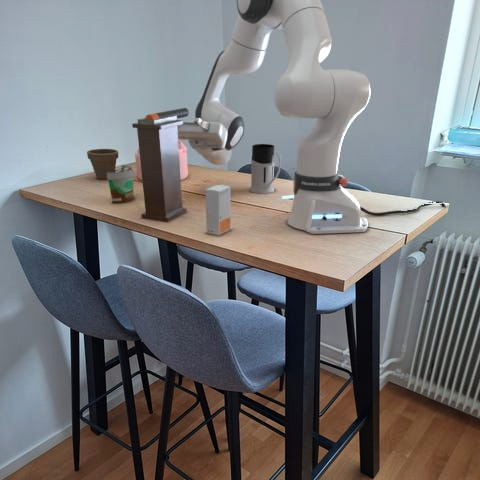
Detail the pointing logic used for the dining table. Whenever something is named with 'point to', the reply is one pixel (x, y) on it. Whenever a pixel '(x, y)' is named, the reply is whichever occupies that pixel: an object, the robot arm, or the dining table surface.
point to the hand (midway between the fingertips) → (182, 119)
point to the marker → (169, 114)
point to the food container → (121, 184)
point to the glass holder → (263, 168)
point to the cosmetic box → (218, 209)
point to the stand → (160, 167)
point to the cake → (181, 159)
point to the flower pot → (103, 161)
